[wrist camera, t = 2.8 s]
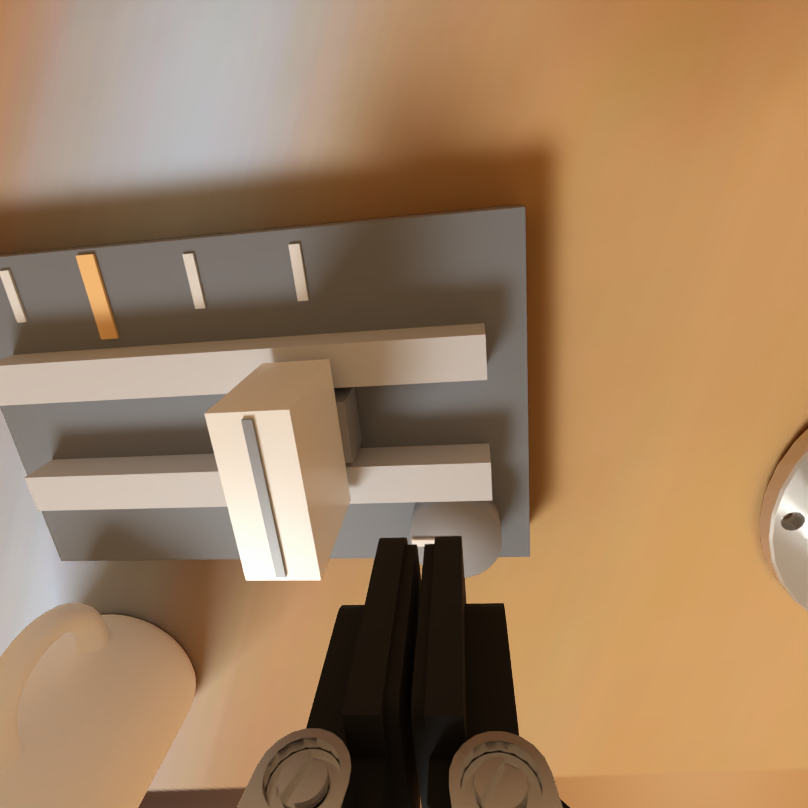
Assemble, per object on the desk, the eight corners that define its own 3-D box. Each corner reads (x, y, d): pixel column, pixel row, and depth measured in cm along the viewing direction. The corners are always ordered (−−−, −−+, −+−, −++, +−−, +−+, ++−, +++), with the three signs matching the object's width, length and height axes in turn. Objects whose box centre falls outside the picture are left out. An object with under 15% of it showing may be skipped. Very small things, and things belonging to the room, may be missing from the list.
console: (520, 204, 20) (530, 208, 16) (525, 529, 25) (534, 584, 21) (-15, 256, 23) (-100, 269, 19) (88, 535, 28) (34, 585, 24)
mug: (34, 544, 29) (-183, 724, 19) (185, 560, 28) (38, 755, 18) (77, 706, 33) (-80, 917, 24) (208, 724, 32) (100, 948, 23)
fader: (348, 344, 20) (299, 410, 14) (367, 476, 22) (330, 582, 16) (271, 349, 21) (191, 415, 15) (296, 478, 23) (235, 582, 17)
